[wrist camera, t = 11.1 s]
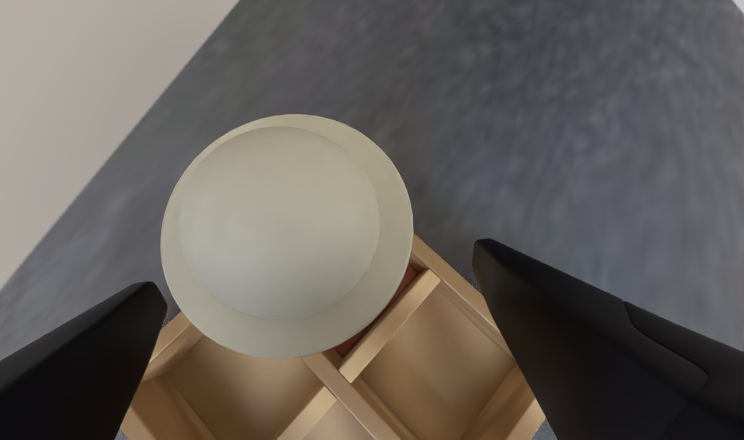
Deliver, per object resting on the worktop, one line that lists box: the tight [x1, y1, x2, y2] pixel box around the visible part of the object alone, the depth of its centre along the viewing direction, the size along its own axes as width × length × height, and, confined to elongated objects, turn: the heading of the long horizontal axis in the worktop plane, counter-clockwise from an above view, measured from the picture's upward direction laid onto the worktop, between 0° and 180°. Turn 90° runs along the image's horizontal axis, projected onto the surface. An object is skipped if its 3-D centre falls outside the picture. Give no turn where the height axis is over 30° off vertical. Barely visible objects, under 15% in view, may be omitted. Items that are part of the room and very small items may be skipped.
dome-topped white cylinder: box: [160, 114, 413, 359], centre depth 10 cm, size 4×4×14 cm
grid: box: [120, 233, 546, 440], centre depth 14 cm, size 15×15×3 cm
